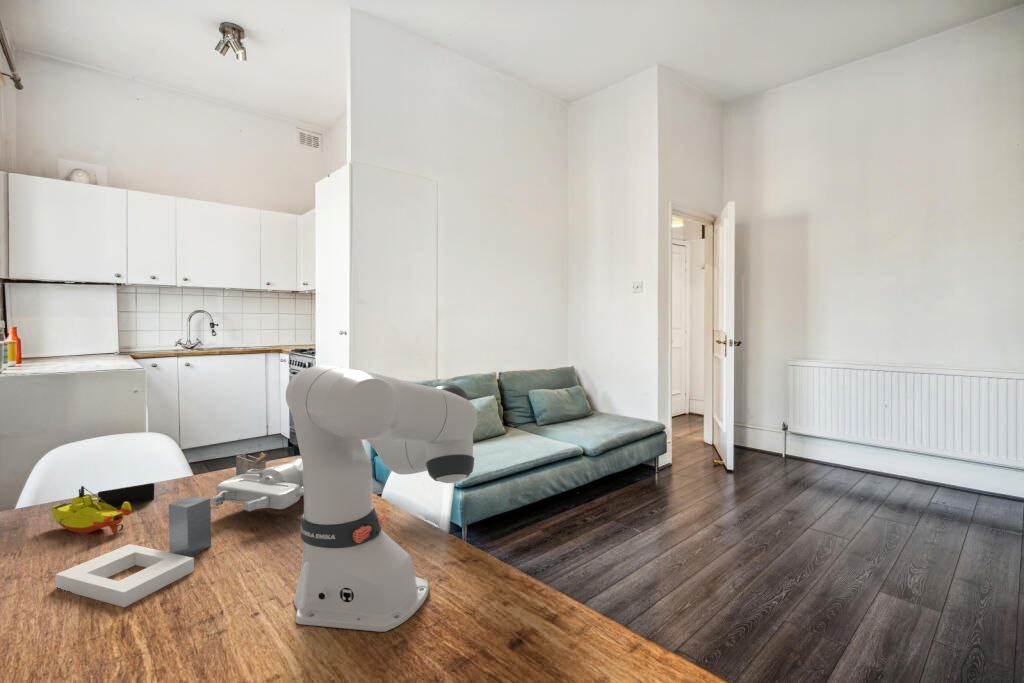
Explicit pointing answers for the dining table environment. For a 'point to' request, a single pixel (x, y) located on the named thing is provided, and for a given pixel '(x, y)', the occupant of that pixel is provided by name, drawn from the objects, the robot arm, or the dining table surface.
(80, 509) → the toy boat
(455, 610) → the dining table surface
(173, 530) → the grey metal block
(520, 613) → the dining table surface
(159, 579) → the white rectangular frame
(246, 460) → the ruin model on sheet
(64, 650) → the dining table surface
